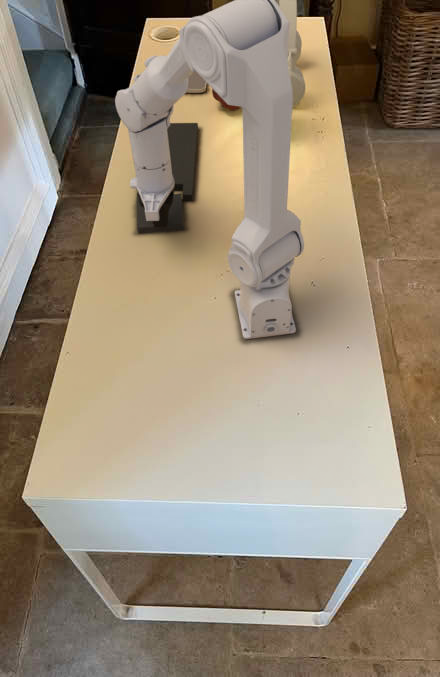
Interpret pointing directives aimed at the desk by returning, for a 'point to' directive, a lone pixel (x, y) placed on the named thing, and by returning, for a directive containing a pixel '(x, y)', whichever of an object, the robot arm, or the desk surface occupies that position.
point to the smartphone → (196, 83)
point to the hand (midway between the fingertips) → (161, 224)
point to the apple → (224, 104)
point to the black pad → (183, 156)
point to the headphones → (294, 49)
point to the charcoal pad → (173, 218)
